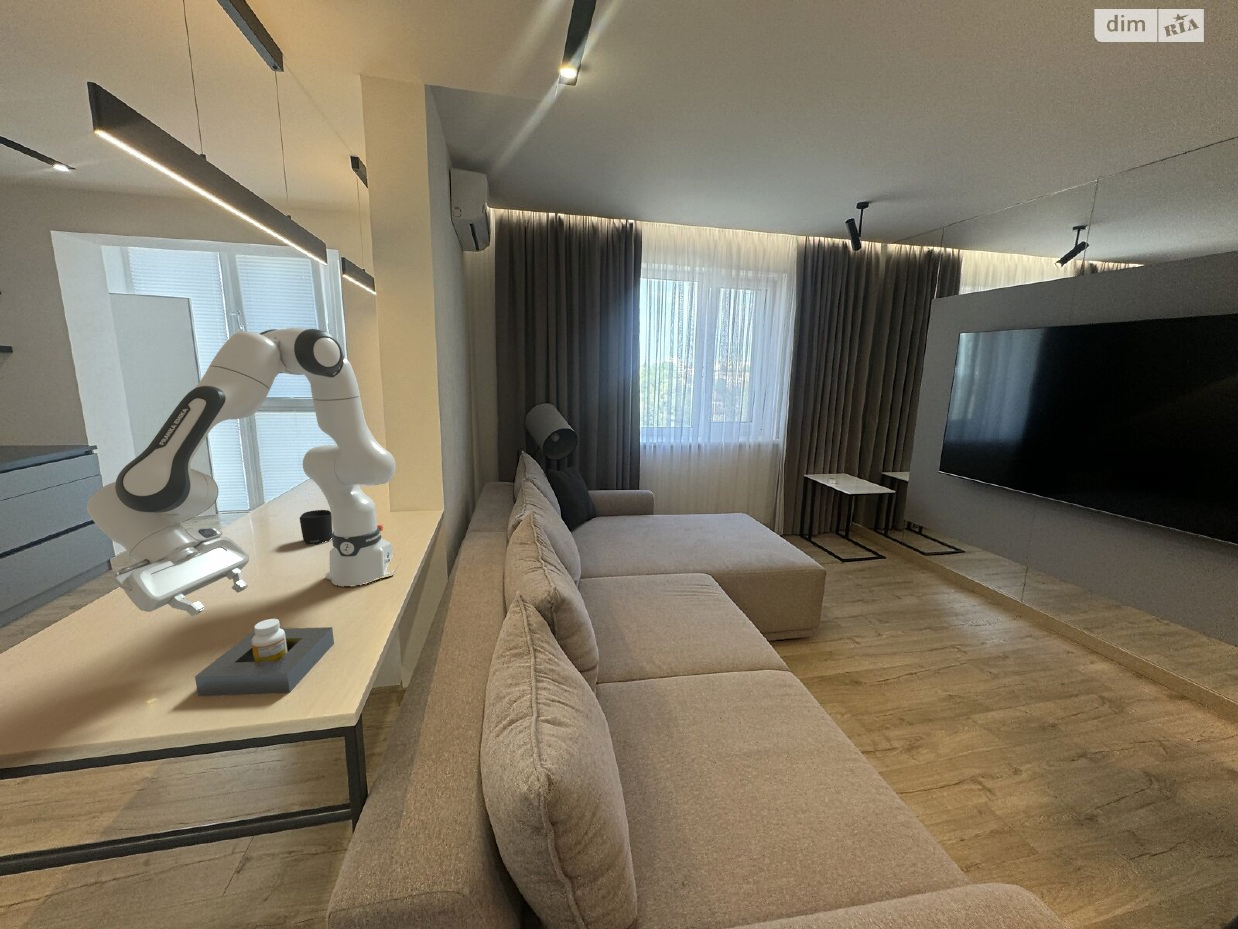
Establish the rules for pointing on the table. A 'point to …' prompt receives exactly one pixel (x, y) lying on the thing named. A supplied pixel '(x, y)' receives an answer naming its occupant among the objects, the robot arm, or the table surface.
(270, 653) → the supplement bottle
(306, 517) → the pen holder
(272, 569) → the table surface
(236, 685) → the grey square frame
